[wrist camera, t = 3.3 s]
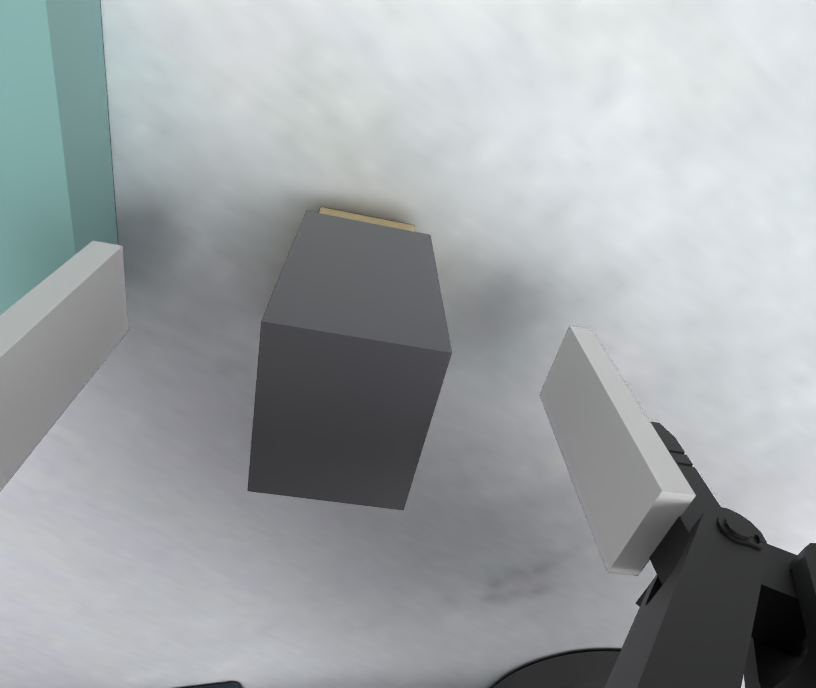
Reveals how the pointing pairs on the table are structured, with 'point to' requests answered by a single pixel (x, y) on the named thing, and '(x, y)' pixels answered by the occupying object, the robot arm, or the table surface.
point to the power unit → (221, 685)
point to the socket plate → (51, 140)
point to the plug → (349, 363)
